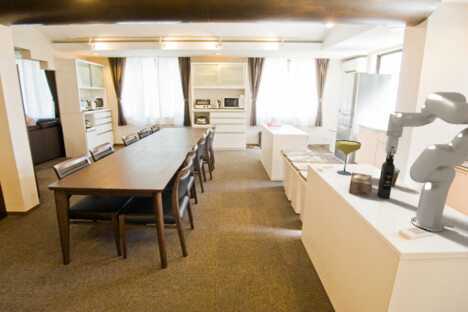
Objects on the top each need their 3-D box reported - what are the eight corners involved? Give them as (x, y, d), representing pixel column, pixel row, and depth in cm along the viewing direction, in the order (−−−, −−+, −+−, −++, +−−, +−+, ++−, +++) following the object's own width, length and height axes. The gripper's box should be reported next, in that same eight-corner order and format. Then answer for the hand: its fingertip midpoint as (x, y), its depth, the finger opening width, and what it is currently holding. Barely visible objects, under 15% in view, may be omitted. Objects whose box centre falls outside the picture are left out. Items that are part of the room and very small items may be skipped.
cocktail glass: (360, 177, 188) (365, 144, 182) (336, 176, 189) (340, 144, 183) (350, 169, 206) (354, 140, 200) (328, 169, 206) (332, 139, 200)
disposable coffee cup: (394, 183, 176) (397, 167, 173) (399, 188, 167) (402, 171, 164) (379, 182, 179) (382, 166, 176) (383, 186, 170) (386, 169, 167)
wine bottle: (389, 199, 149) (398, 151, 141) (379, 198, 150) (387, 150, 142) (386, 196, 154) (394, 148, 147) (376, 195, 155) (384, 148, 148)
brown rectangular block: (369, 186, 170) (371, 174, 167) (370, 196, 152) (372, 184, 150) (350, 183, 175) (352, 172, 173) (348, 193, 158) (350, 180, 156)
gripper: (385, 131, 151) (380, 160, 156) (387, 135, 136) (382, 166, 141) (400, 132, 148) (394, 161, 152) (404, 136, 133) (397, 168, 138)
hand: (388, 163), depth 147 cm, fingers closed on wine bottle, 5 cm apart
